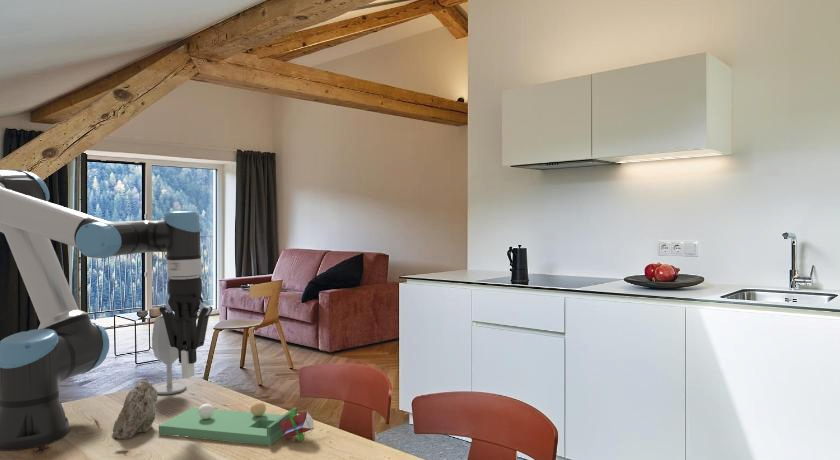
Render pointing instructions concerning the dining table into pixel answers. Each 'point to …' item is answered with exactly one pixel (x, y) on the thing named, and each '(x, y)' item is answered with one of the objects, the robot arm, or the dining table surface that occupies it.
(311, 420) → the geometric puzzle
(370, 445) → the dining table surface
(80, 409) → the dining table surface
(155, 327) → the wineglass
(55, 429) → the robot arm
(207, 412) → the white ball
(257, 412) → the orange ball
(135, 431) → the rock
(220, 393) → the dining table surface
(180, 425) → the putting mat
